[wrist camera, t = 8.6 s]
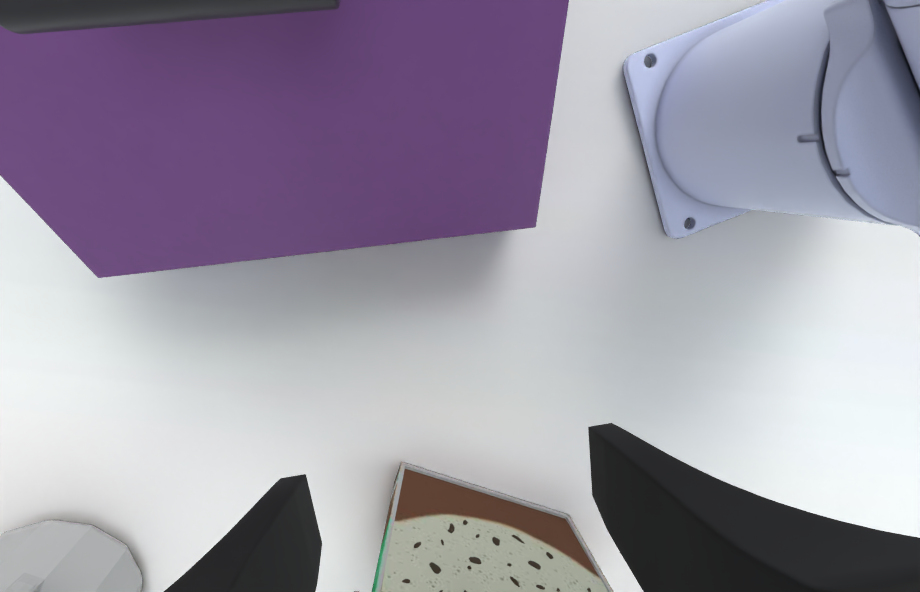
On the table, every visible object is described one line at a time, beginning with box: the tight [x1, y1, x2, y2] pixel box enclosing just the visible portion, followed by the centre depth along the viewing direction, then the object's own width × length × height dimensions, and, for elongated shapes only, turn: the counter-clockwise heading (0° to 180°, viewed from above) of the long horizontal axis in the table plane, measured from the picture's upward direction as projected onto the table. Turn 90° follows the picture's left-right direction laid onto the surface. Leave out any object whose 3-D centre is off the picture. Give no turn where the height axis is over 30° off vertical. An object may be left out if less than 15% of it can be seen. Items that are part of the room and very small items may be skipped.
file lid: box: [0, 0, 569, 278], centre depth 11 cm, size 12×15×4 cm
